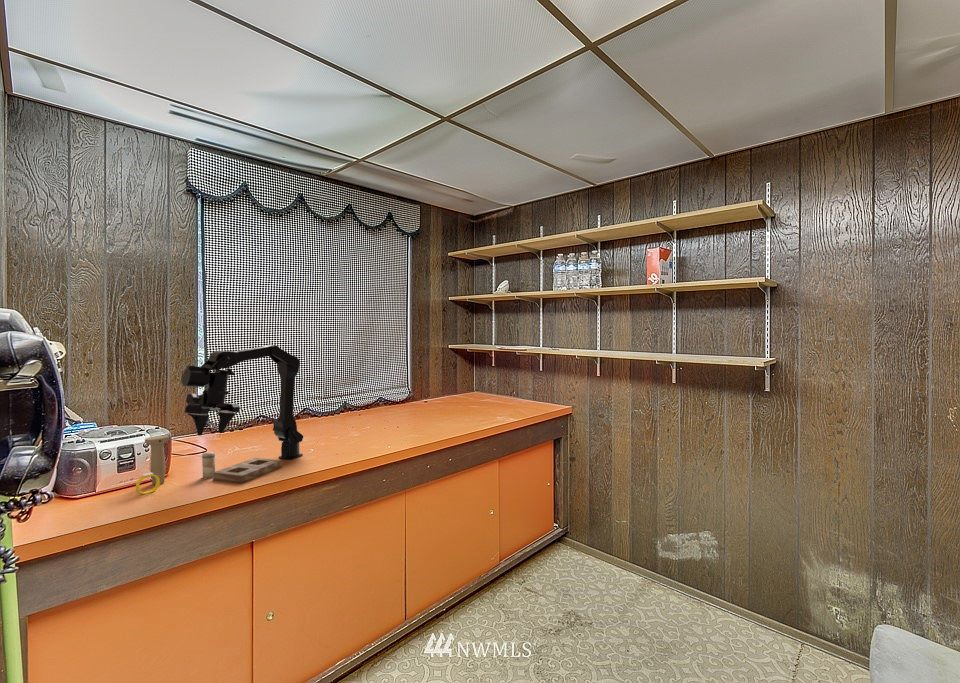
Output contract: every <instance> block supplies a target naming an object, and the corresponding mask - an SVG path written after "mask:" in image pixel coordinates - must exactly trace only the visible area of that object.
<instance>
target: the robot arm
mask: <svg viewBox="0 0 960 683" xmlns="http://www.w3.org/2000/svg"><path fill="white" fill-rule="evenodd" d="M266 357H269V358H270V360H271V361H272V362H274V363H275V364H276V366H277V372H278V375H279V377H280V392H279V393H280V395H279V396H280V398H279V416H278V417H277V419H273V422H272V424H273V428H272V432H273V433H274V435H275V436H276V437H277V439H278V441H279V442H281V448H280V454H281V455H280V456H278V459H284V460H285V459H286V460H293V459H297V458H299V457H302V456H303V453H300V443H301V442H303V439H304V435H303V434H302V433H301V432H299V430H298V427H297V426H298V425H297V421H296V419H295V417H294V402H295V401H294V400H295V399H294V398H295V397H294V396H295V379H296V377H297V375H298V373H299V371H300V370H299V369H300V366H301V362H300V359H299V358H298V356H296V355H292V354H291V353H289V352H287V351H285V349H284V350H283V349H282V348H280V347H279V346H278V345H276V344H267V345H264V346H258V347H254V348H247V349H241V350H214V351H212V352H211V353H210V354H209V356H208V358H207V360H206V361H205V362H204V363H203V364H202V365H201V366H196V365H190V364H189V365H188V364H187V365H186V369H184V371H183V373H182V374H181V384H182V386H183V387H192V388H193V387H195V388H197V387H199V388H204V387H205V386H206V385H207V387H206V389H203V391H202V394H199V395H198V394H196V393H188V394H187V395H186V400H185V402H186V405H185V408H184V413H185V414H187V416H190V417H191V418H192V419H193V422H194V425H195V428H196V433H197V435H198V436H202V435H203V433H204V431H205V428H206V426H207V423H208V419H209V418H210V414H209V413H210V412H216V414H217V415H218V417H219V420H218V433H219V434H223V432H224V431H225V429H226V428H227V427H228V425H229V423H230V422H231V420H233V418H234V417H235V416H236V415H237V413H240V411H241V410H240V409H241V406H240V405H239V403H232V402H226V395H229V392H230V391H228V390H227V387H228V382H229V381H228V380H229V376H236V374H235V372H234V370H232V368H231V367H234V366H237V365H238V364H239V363H242V362H245V361H250V360H256V359H262V358H266Z"/></svg>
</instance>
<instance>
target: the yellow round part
mask: <svg viewBox="0 0 960 683" xmlns="http://www.w3.org/2000/svg"><path fill="white" fill-rule="evenodd" d="M151 476H154V477H155V478H156V482H157V483H156V485H154V487H153V488H152V489H151V490H148V491H144V492H143V491H141V489H140V484H141V483H142V481H143V480H144V479H146V478H151ZM160 485H161V484H160V479H159V478H158V476H156V475H153V473H151V472H146V473H142V474H141V476H140V478H139V479H138V480H137V481H136V483H135V490H136V491H137V493H139V494H142V495H148V494H151V493H154V492H156V491H157V490H158V488H159V487H160Z"/></svg>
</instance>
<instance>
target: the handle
mask: <svg viewBox="0 0 960 683" xmlns="http://www.w3.org/2000/svg"><path fill="white" fill-rule="evenodd" d="M168 441H170V435H166V434H165V435H156V436H150V437H146V438H145V439H144V443H145V444H147V445H149V446H150V462H149V463H150V465H149V467H150V468H149V469H150V470H149V473H153V475H156V476H158V478H159V479H160V484H159V485H161V484H164V483H165V480H166V479H165V477H166V460H165V446H164V445H165V444H166V443H167V442H168ZM150 479H151V484H152V485H154V486H155V485H156V483H157V482H156V478H155V477H154V476H151V477H150Z"/></svg>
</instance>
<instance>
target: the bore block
mask: <svg viewBox="0 0 960 683" xmlns="http://www.w3.org/2000/svg"><path fill="white" fill-rule="evenodd" d="M282 461H283V460H280V459H270V458H260V457H252V458H250V459H247V460H244V461H241V462H239V463H236V464H234V465H230V466H227V467H225V468H221V469H219V470H215V472H213V478H212V481H218V480H221V482H226V481H228V483H234V482H237V483H236V484H244V483H246V482H248V481H252V480H254V479H257V478H259V477H262V476H264V475H266V474H269V473H271V472H273V471H276V470H279V469H280V468H282ZM278 468H279V469H278ZM256 477H257V478H256ZM251 479H252V480H251Z"/></svg>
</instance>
